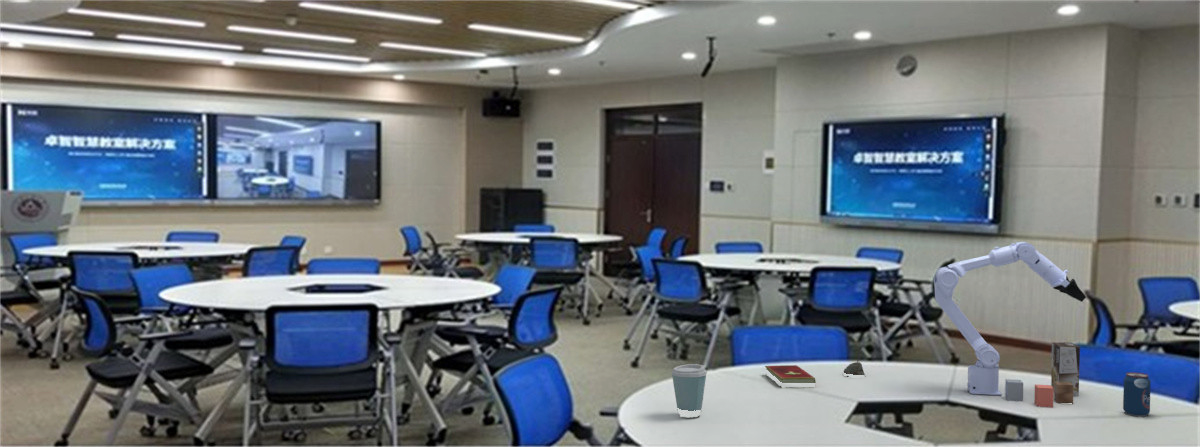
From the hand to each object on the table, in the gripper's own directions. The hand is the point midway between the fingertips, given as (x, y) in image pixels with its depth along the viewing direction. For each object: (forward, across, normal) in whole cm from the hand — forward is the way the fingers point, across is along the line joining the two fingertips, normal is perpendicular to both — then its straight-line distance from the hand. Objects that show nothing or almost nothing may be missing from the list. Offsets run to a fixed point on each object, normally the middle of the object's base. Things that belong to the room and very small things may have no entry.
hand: (1080, 297), depth 293 cm
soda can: (+30, -19, +17) cm, 39 cm away
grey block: (+6, -8, +38) cm, 39 cm away
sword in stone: (-31, +17, +70) cm, 79 cm away
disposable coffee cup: (-68, -53, +102) cm, 134 cm away
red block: (+11, -14, +33) cm, 38 cm away
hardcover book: (-48, +2, +85) cm, 97 cm away
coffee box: (+19, +6, +26) cm, 33 cm away
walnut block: (+16, -8, +28) cm, 34 cm away
